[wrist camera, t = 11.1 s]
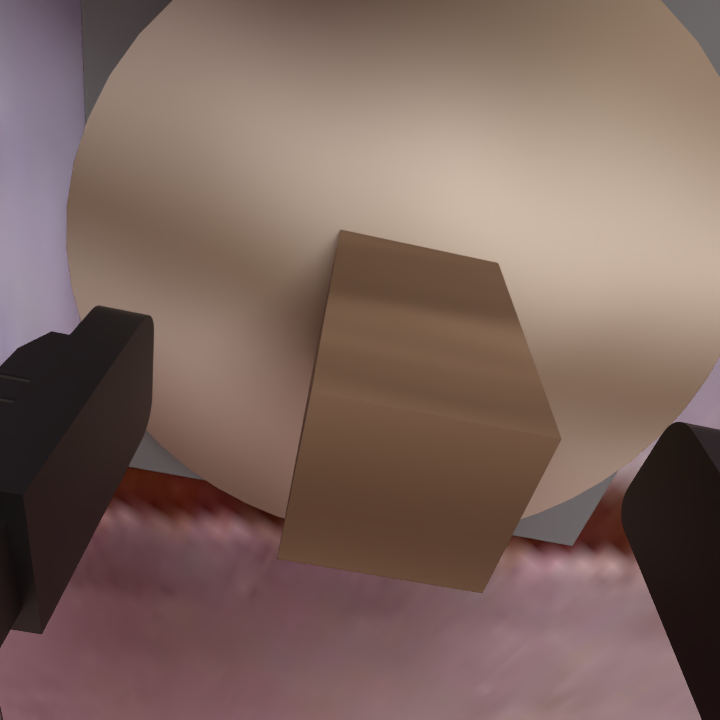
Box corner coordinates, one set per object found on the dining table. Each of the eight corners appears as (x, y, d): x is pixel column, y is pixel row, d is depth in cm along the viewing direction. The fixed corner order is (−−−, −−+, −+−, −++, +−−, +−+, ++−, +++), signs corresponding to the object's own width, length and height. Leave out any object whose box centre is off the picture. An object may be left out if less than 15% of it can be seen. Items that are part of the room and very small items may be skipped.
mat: (88, -181, 9) (74, -188, 9) (868, 22, 10) (888, 24, 10) (105, 448, 16) (98, 461, 16) (567, 531, 17) (572, 546, 17)
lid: (71, -189, 9) (-341, -379, 4) (885, 21, 10) (1394, 86, 5) (97, 460, 16) (-36, 690, 11) (571, 544, 17) (648, 789, 12)
